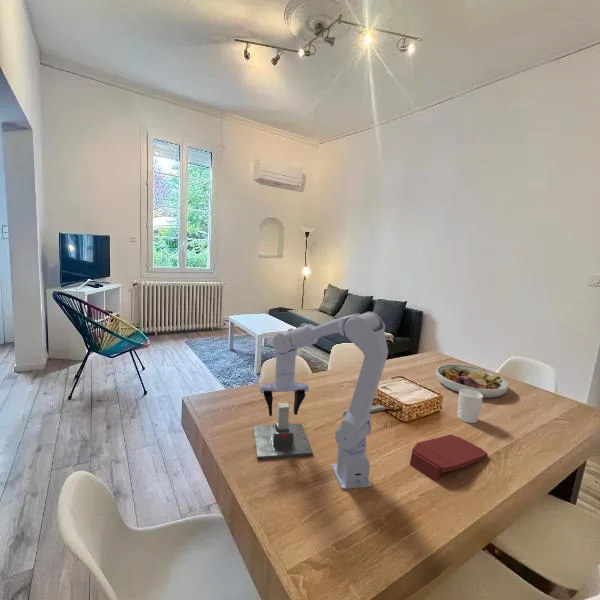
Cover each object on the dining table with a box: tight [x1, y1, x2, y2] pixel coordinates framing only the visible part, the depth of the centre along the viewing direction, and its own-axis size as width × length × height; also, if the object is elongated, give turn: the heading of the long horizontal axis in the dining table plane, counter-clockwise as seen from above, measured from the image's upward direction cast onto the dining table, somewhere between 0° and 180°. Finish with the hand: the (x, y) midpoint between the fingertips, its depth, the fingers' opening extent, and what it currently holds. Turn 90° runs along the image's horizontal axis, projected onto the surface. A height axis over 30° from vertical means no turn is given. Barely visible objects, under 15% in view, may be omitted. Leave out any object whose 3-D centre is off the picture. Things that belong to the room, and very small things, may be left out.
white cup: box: [457, 389, 484, 424], centre depth 125 cm, size 8×8×10 cm
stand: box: [253, 421, 314, 461], centre depth 104 cm, size 16×16×4 cm
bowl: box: [435, 364, 509, 399], centre depth 157 cm, size 30×30×8 cm
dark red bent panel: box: [409, 434, 489, 482], centre depth 101 cm, size 12×5×25 cm
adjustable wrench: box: [342, 403, 386, 417], centre depth 128 cm, size 25×6×2 cm, turn 111°
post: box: [276, 402, 290, 432], centre depth 103 cm, size 3×3×8 cm
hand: (282, 413), depth 102 cm, fingers open, 7 cm apart
